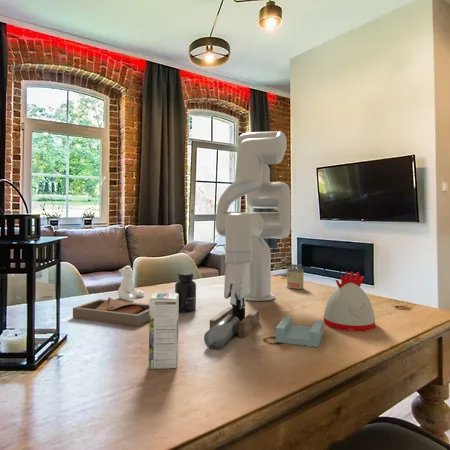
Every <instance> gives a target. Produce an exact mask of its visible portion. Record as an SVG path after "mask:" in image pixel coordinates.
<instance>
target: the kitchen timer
mask: <svg viewBox="0 0 450 450" xmlns="http://www.w3.org/2000/svg"><path fill="white" fill-rule="evenodd" d="M349 273H350V274H349ZM364 278H365V276H363V275H361V276H360V271H357V272H356V273H355V275H354V272H353V271H350V272H348V271H345V275H344V276H343V275H340V279H341V280H340V282H341V283H340V282H339V280H338V279H335V282H336V285H337V287H335V288H334V290H332V291H333V292H331V294H330V296H329V298H328V300H327V301H326V305H325V308H324V311H323V312H324V313H323V325H325V326H327V327H329V328H333V329H335V328H336V329H335V330H338V329H340V330H339V331H344V330H346V331H347V332H354V331H361V332H368V331H367V330H369V331H371V329H372V330H374V329H375V328H376V317H375V312H374V309H373V305H372V303H371V300H370V298H369V297H368V295H367V293H366V292H365V291H364V289H362V288H361V285H362V283H363V281H364ZM373 328H374V329H373ZM346 331H345V332H346Z"/></svg>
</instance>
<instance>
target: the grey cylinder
mask: <svg viewBox="0 0 450 450" xmlns="http://www.w3.org/2000/svg"><path fill="white" fill-rule="evenodd" d="M239 322H240V320H239V319H238V317H236V316H235V315H228V316H226V317H225V318H224V319H223V320H221V321H220V322H219V323H217V324H216V325H215V326H213V327H212V328H211V329H210V328H209V329H207V331H206V332H205V334H204V336H203V340H204V344H205V346H206V347H207V348H209V349H210V350H216V351H218V350H220V349H221V348H222V347H223V346H224V345H225V344H226V343H227V342H228V341H230V339H231V338H232V337H233V336H234V335H236V333H238V323H239Z"/></svg>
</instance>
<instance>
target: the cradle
mask: <svg viewBox="0 0 450 450" xmlns="http://www.w3.org/2000/svg"><path fill="white" fill-rule="evenodd" d="M292 320H293V319H292V316H291V317H290V316H289V317H288V316H284V317H282V319H281V320H280V322H279V323H278V324H277V326H276V327H275V343H282V344H290V345H298V346H304V345H306V347H312V346H313V347H312V348H319V346H320V343H321V340H322V338H323V335H324V320H320V319H315V320H314V322H313V324H312V326H305V325H296V324H295V325H294V324H292V323H293V322H292Z"/></svg>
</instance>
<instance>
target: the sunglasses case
mask: <svg viewBox="0 0 450 450" xmlns="http://www.w3.org/2000/svg"><path fill="white" fill-rule="evenodd" d="M105 300H106V301H105V302H104V303H102V304H101V305H100V306H99V307H97V308H96V310H105V311H113V312H121V313H130V314H139V313H141V312H143V311H145V310H146V309H145V308H144V307H143V306H141V305H137V304H131V303H127V302H128V301H124V300H119V299H114V298H111V297H108V299H105ZM122 323H124V322H122Z"/></svg>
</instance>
